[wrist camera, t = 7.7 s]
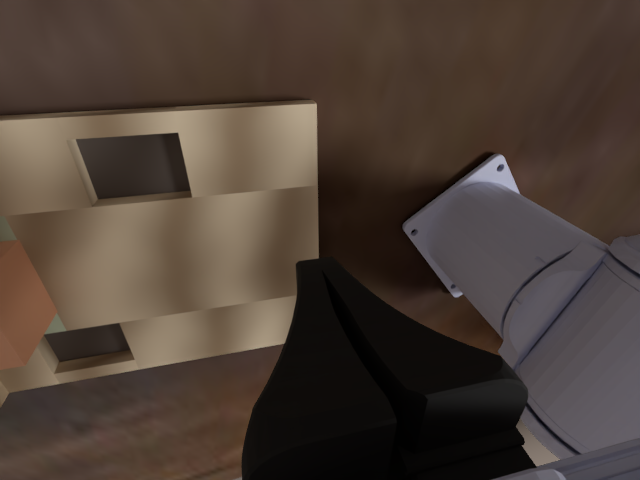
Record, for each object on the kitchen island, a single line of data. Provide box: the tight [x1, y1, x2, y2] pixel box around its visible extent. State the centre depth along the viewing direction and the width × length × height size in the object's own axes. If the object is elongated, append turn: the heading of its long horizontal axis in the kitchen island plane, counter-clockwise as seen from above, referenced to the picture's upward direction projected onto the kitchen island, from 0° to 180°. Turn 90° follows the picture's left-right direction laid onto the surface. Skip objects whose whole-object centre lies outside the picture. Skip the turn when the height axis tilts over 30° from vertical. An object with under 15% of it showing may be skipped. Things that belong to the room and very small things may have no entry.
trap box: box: [0, 100, 319, 408], centre depth 20 cm, size 22×17×3 cm
